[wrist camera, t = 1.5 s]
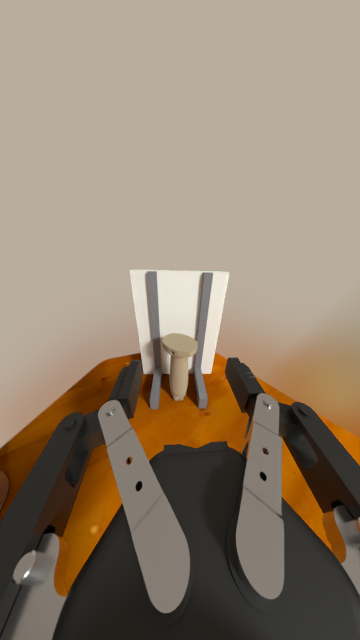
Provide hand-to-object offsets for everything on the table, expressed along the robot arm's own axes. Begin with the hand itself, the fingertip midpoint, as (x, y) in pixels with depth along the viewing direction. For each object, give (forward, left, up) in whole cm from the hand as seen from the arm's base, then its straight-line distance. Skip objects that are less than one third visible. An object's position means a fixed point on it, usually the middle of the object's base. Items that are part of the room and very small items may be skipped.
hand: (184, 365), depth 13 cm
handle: (0, +11, -20) cm, 23 cm away
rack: (0, +13, -20) cm, 24 cm away
